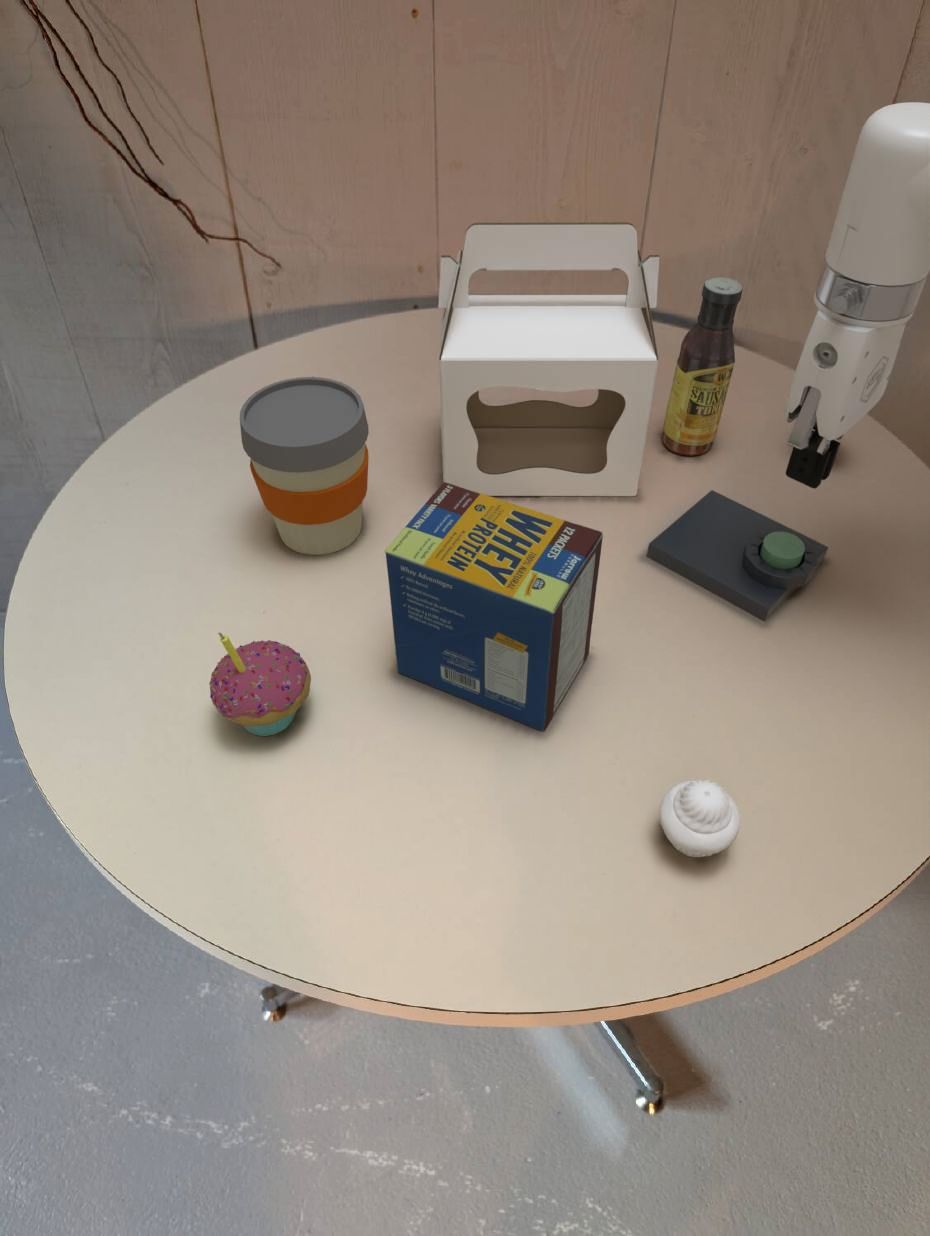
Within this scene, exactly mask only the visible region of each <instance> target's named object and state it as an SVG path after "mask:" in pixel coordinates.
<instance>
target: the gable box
mask: <svg viewBox="0 0 930 1236" xmlns="http://www.w3.org/2000/svg"><path fill="white" fill-rule="evenodd" d="M659 268H660V255H659V254H649V255H648V256H647V257H646V258H644V259H642V255H641V250H640V249H639V248H638V233H637V228H636V227H635V226H634V224H632V223H631V222H627V221H625V222H622V221H621V222H619V221H617V222H615V221H614V222H606V221H605V222H595V221H594V222H589V221H588V222H474V223H471V224H470V225H469V226H468V227H467V229H466V232H465V238H464V243H463V249H459V250H458V253H457V256H456V259H454V257H452V256H451V255H447V254H441V256H440V269H439V270H440V271H439V287H438V288H439V289H438V303H437V304H438V305H437V307H438V309H442V310H441V311H442V312H441V326H440V340H439V354H438V370H439V374H438V375H439V400H440V403H439V404H440V429H441V456H442V484H443V483H444V482H446V483H449V484H452V485H455V486H458V487H461V488H464V489H467V490H470V491H473V492H477V493H480V494H484V495H487V496H490V497H636V496H637V495H638V489H639V483H640V476H641V471H642V464H643V457H644V453H645V445H646V439H647V434H648V433H647V432H648V427H649V421H650V414H651V407H652V402H653V397H654V396H653V395H654V389H655V382H656V377H657V371H658V364H659V354H658V348H657V342H656V336H655V331H654V330H655V329H654V324H653V318H652V313H651V312H652V311H651V309H656V308H657V304H658V303H657V302H658V286H659ZM620 270H621V271H622V272H624V274H625V275H626V278H627V287H626V294H469V293H470V291H469V289H470V288H469V287H470V286H469V285H470V283H469V282H470V278H471V277H472V275H473V274H474V273H475V272H476V271H481V272H487V271H611V272H617V271H620ZM502 387H504V388H505V387H509V388H510V387H511V388H512V387H513V388H523V389H528V390H529V389H530V390H537V391H543V392H552V393H553V392H554V393H568V392H578V391H587V390H598V391H597V397H596V400H595V401H594V402H593V403H592V404H590V405H587V406H573V405H569V404H566V403H562V402H559V401H554V400H547V399H546V400H545V399H530V400H524V401H519V402H518V401H517V402H513V403H509V404H502V405H489V404H485V403H483V402H482V401H481V398H480V395H479V394H480V391H481V390H484V389H489V388H502Z"/></svg>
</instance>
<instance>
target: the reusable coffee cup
mask: <svg viewBox="0 0 930 1236" xmlns="http://www.w3.org/2000/svg"><path fill="white" fill-rule="evenodd" d="M239 425H240V426H239V427H240V437H241V438H240V439H241V445H242V448H243V451H244V452H245V453H246V456H247V457H249V458H250V460H249V468H250V472H251V475H252V478H253V480H254V482H255V485H256V487H257V490H258V492H259V495H260V498H261V501H262V503H263V505H264V508H265V509H266V510H267V512H268V513H270V514H271V515H272V518H273V520H274V523H275V526H276V529H277V531H278V534H279V536H280V539H281V540H282V542H283V544H284V545H286V546H287V548H289V549H291V550H292V551H294V552H297V553H300V554H303V555H309V556H310V555H311V556H321V555H329V554H333V553H335V552H338V551H341V550H344V549H345V548H347V547H348V546H350V545H352V544H353V543H354V542H355V541H356V539H358V537H359V535H360V533H361V531H362V528H363V527H362V525H363V506H364V505H363V504H364V503H363V502H364V500H365V498H366V496H367V493H368V479H369V478H368V477H369V459H370V458H369V448H368V447H367V444H366V442H367V440H368V436H369V434H370V433H369V423H368V419H367V415H366V411H365V405H364V402H363V400H362V397H361V395H360V394H359V393H358V392H357V391H356V390H355V389H354V388H352V387H351V386H349V385H348V384H346V383H344V382H341V381H339V380H336V379H332V378H328V377H327V378H326V377H321V376H320V377H319V376H318V377H317V376H302V377H293V378H286V379H283V380H279V381H276V382H273V383H270V384H268V385H266V386H264V387H261V388H260V389H258V390H257V391H255V392H254V393H252V394H251V395H250V396H249V397H248V398H247V399H246V401H245V402H244V403H243V404H242V407H241V409H240V411H239Z"/></svg>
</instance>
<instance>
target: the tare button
mask: <svg viewBox="0 0 930 1236" xmlns="http://www.w3.org/2000/svg"><path fill="white" fill-rule="evenodd" d="M804 551H805V546H804V543H803V542H802V541H801V539H799V538H798V537H797V536H795V535H793V534H790V533H787V532H773V533H770V534H768V535H767V536H766V537H765V538H764V540H763V544H762V547H761V550H760V555H761V558H762V559H763V561H764V562H765V563H766V564H768V565H770V566H772V567H774V568H778V569H785V570H787V569H792V568H795V567H797V566H798V565H799V564H800V562H801V560H802V557H803V554H804Z"/></svg>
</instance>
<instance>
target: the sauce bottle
mask: <svg viewBox="0 0 930 1236" xmlns="http://www.w3.org/2000/svg"><path fill="white" fill-rule="evenodd" d="M742 294H743V285H742V284H741V283H740V281H737V280H736V279H733V278H729V277H726V276H725V277H724V276H714V277H711V278H710V277H709V278H708V279H706V280H705V281H704V283H703V286H702V291H701V297H702V300H701V305H700V309H699V312H698V315H697V320H696V323H695V324H694V325H693V326H692V327H691V328H690V329H689V330H688V332H687V333H686V334H685V335H684V337H683V339H682V342H681V344H680V350H679V355H678V358H677V360H676V363H675V364H676V365H675V369H674V374H673V379H672V384H671V389H670V393H669V398H668V403H667V407H666V412H665V416H664V422H663V426H662V427H663V431H662V436H661V439H662V443H663V444H664V446H665V447H666V448H667V449H668V450H670V451H671V452H672V453H674V454H679V455H683V456H689V457H691V456H700V455H702V454H705V453H706V452H707V451H708V450H710V448H711V447H712V446H713V444H714V440H715V439H716V436H717V433H718V428H719V425H720V421H721V417H722V414H723V410H724V406H725V403H726V398H727V395H728V391H729V386H730V382H731V379H732V375H733V371H734V367H735V363H736V355H735V354H736V353H735V337H734V331H733V329H734V328H733V326H734V323H735V316H736V311H737V308H738V304H739V303H740V301H741V299H742Z"/></svg>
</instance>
